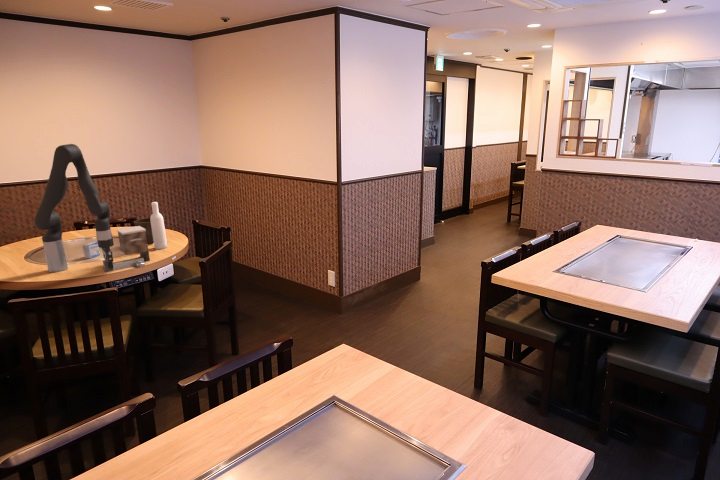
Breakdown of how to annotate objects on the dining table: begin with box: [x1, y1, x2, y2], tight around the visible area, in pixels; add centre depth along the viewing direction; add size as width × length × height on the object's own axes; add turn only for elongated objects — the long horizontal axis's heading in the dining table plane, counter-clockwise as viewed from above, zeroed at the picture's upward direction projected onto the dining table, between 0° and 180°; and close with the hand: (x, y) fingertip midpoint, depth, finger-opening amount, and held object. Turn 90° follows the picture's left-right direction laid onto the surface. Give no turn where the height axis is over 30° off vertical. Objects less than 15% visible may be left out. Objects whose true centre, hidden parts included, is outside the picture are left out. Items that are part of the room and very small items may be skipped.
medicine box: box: [82, 241, 101, 259], centre depth 289 cm, size 8×4×9 cm, turn 168°
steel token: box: [134, 261, 146, 268], centre depth 267 cm, size 5×5×2 cm
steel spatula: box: [102, 257, 145, 273], centre depth 264 cm, size 20×3×6 cm, turn 129°
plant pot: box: [133, 217, 154, 245], centre depth 316 cm, size 15×15×16 cm
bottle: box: [149, 201, 168, 250], centre depth 301 cm, size 8×8×30 cm
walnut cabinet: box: [116, 225, 151, 262], centre depth 275 cm, size 13×14×19 cm
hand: (109, 267), depth 260 cm, fingers open, 6 cm apart
